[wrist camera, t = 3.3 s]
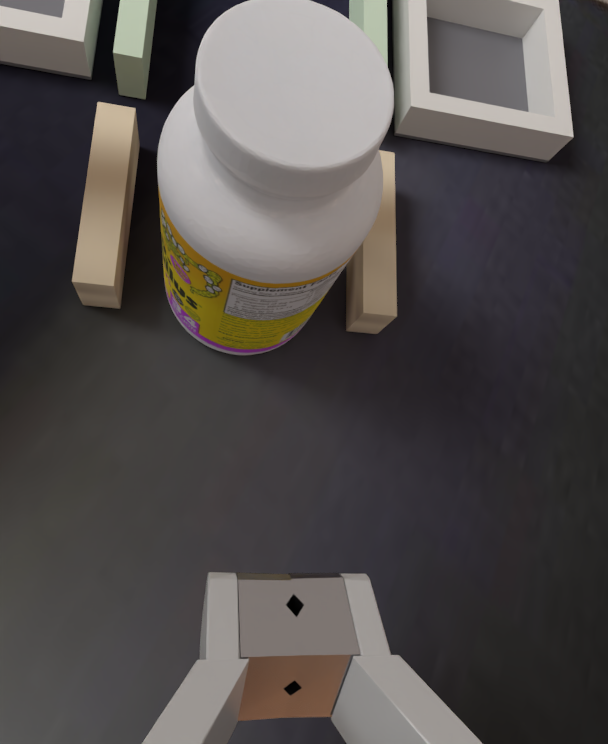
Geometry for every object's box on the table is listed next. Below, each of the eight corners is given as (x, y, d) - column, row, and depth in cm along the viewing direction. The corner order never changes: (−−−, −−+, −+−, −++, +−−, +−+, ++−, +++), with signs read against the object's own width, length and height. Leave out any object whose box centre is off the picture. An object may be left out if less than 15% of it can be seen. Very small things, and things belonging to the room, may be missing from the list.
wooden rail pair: (376, 334, 25) (396, 316, 23) (82, 305, 23) (71, 281, 20) (375, 183, 27) (394, 152, 25) (105, 140, 25) (97, 101, 22)
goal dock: (370, 138, 28) (387, 105, 26) (119, 94, 26) (112, 52, 23) (369, -32, 31) (385, -77, 28) (143, -87, 28) (139, -141, 26)
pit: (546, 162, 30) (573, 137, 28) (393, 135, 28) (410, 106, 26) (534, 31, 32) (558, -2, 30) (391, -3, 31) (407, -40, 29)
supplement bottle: (161, 220, 25) (144, -63, 12) (304, 223, 26) (414, -26, 14) (167, 364, 23) (154, 203, 11) (318, 358, 25) (455, 212, 12)
